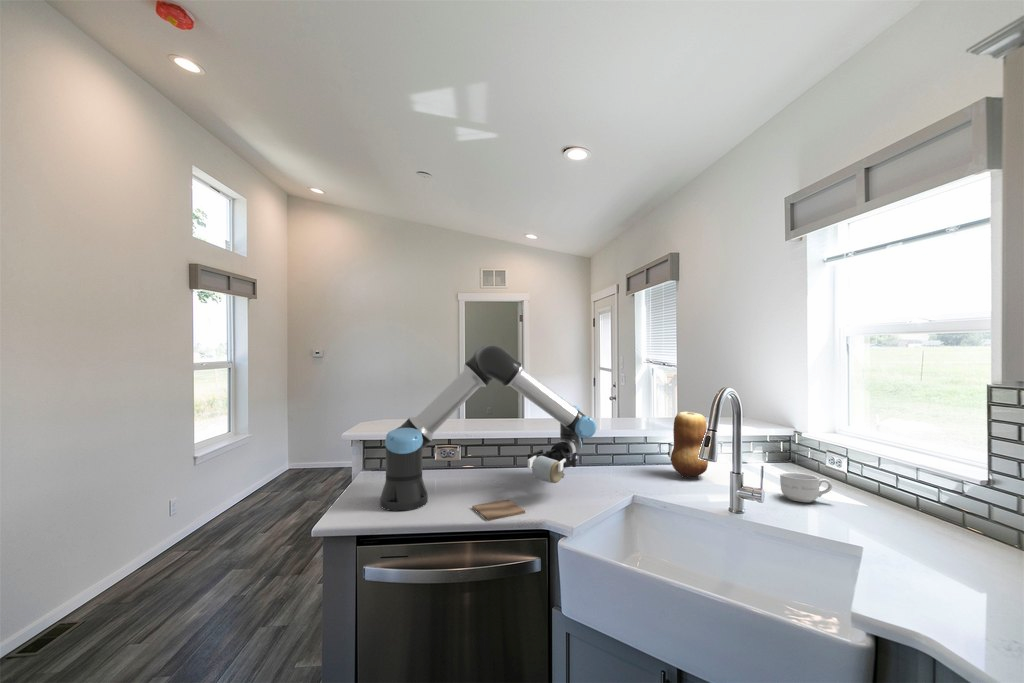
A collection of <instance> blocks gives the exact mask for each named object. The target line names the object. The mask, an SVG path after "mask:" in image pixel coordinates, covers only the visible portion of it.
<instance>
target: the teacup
mask: <svg viewBox="0 0 1024 683" xmlns="http://www.w3.org/2000/svg"><path fill="white" fill-rule="evenodd" d="M779 478H780V480H779V482H780V484H779V485H780V490H781V492H782V494H783V495H784V496H785V497H786V498H787V499H788V500H791V501H794V502H800V503H812V502H814V501H815V500H816V499H818V498H821V497H822V496H823V495H825V494H828V493H830V492H831V491H832V489H833V484H832V482H831V481H830V480H829V479H826V478H819V476H816V475H812V474H809V473H802V472H781V473H779ZM822 483H826V484H827V486H828V487H827V488H825V489H824V490H821V491H820V487H821V485H822Z"/></svg>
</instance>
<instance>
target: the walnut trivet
mask: <svg viewBox="0 0 1024 683" xmlns="http://www.w3.org/2000/svg"><path fill="white" fill-rule="evenodd" d="M473 508H474V509H475V510H476V511H477V512H478V513H477V512H476V511H475V510H474V509H473ZM472 509H473V510H474V511H475V512H476V513H477V514H479V515H480V516H481V515H482V516H483V517H484V520H486V521H487V522H488V521H493V520H494V521H495V520H499V519H503V518H508V516H509V517H513V516H517V515H522V514H523V515H524V514H526V509H524V508H522V507H521V506H519V505H518V504H516V503H514V501H512V500H510V499H502V500H496V501H491V502H486V503H479V504H475V505H472ZM482 516H481V517H482ZM483 517H482V518H483Z"/></svg>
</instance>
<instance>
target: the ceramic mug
mask: <svg viewBox="0 0 1024 683" xmlns="http://www.w3.org/2000/svg"><path fill="white" fill-rule="evenodd" d="M558 463H559V461H557V460H554V459H551V458H548V457H545V456H539V457H537V458H536V459H535V461H534V463H533V467H531V469H532V470H531V471H532V476H533V477H534V478H535V479H536V480H539V481H544V482H548V483H551V484H556V483H558V482H560V481H561V479H564V478H565V473H564V469H563V470H562V471H561V472H558Z"/></svg>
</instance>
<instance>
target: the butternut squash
mask: <svg viewBox="0 0 1024 683" xmlns="http://www.w3.org/2000/svg"><path fill="white" fill-rule="evenodd" d="M673 421H674V422H673V448H672V452H671V455H670V459H669V460H670V461H671V465H672V468H673V469H674V470H675V471H676V472H677V474H679V475H680V476H681V477H682V476H683V477H689V478H691V477H692V478H698V477H699V476H701V475H702V474H704V473H706V471H707V470H708V467H709V466H708V465H709V460H708V461H704V460H700V459H698V455H699V450H700V447H701V444H702V441H703V438H704V435H705V433H706V434H707V432H706V430H708V429H707V428H708V427H707V425H708V424H707V420H706V417H705V416H704V415H702V414H701V413H697V412H691V411H681V412H678V413H676V416H675V417H674V420H673ZM683 477H682V478H683Z"/></svg>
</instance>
